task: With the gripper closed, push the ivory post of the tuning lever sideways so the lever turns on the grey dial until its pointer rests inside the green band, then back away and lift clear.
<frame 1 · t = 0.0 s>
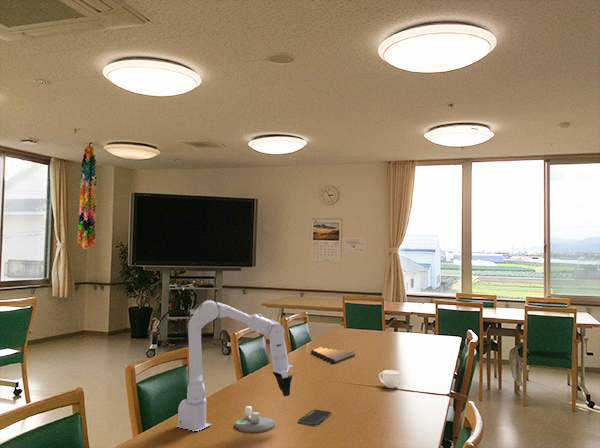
hand: (284, 392, 183), 11 cm above the table, tool pointing down, fingers open, 7 cm apart
dial plate: (254, 425, 178), on the table
cup: (388, 386, 233), on the table
pan flute: (326, 358, 294), on the table
phone: (315, 419, 187), on the table
tuning lever: (251, 414, 181), point 3 cm above the table, hinge at 0.0°
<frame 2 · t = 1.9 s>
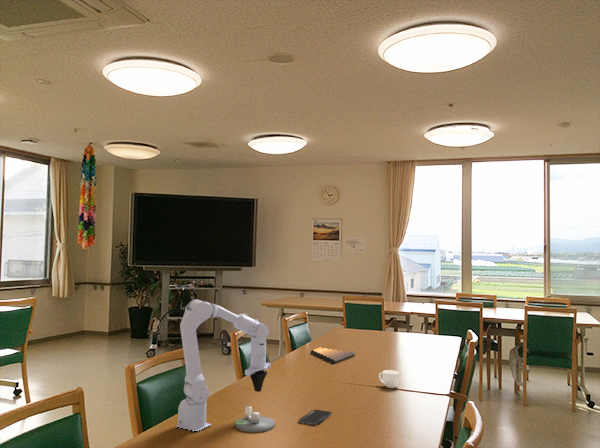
hand: (257, 391, 189), 9 cm above the table, tool pointing down, fingers closed
nothing on the table moved.
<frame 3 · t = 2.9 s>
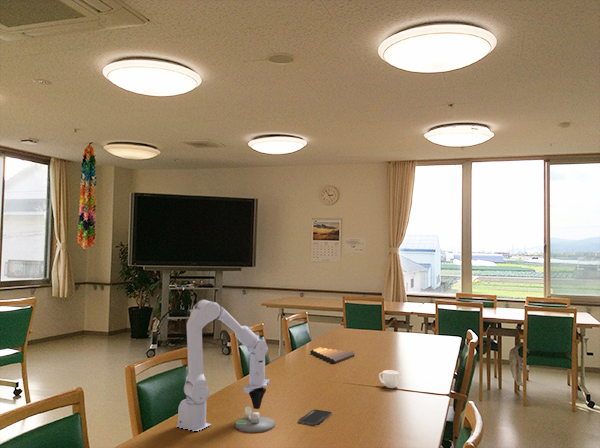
hand: (256, 408, 188), 3 cm above the table, tool pointing down, fingers closed
nothing on the table moved.
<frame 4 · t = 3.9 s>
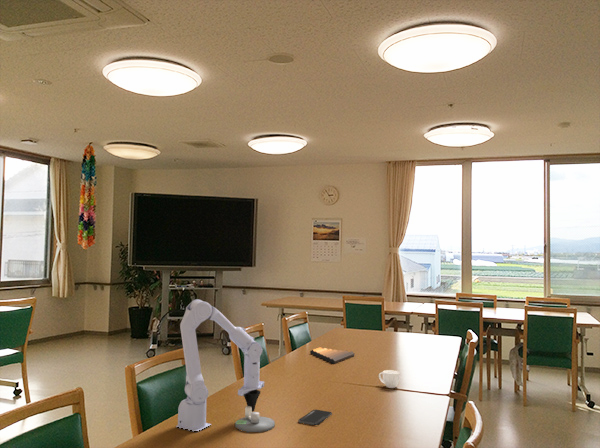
hand: (251, 410, 185), 3 cm above the table, tool pointing down, fingers closed, pressing on tuning lever
tuning lever: (251, 414, 181), point 3 cm above the table, hinge at 0.1°, touching gripper
everything else where it was.
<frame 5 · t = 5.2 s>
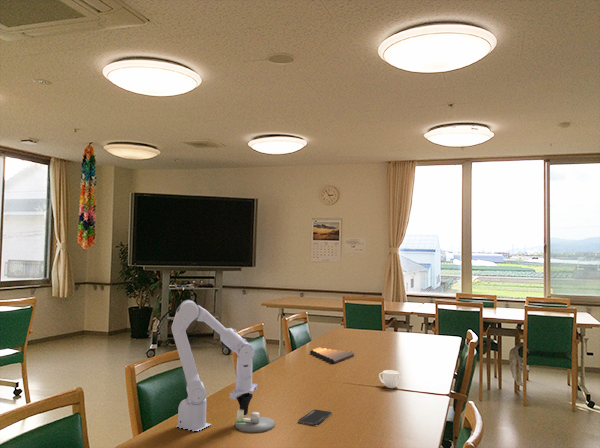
hand: (243, 414, 181), 3 cm above the table, tool pointing down, fingers closed, pressing on tuning lever
tuning lever: (248, 415, 179), point 3 cm above the table, hinge at 46.6°, touching gripper
everything else where it was.
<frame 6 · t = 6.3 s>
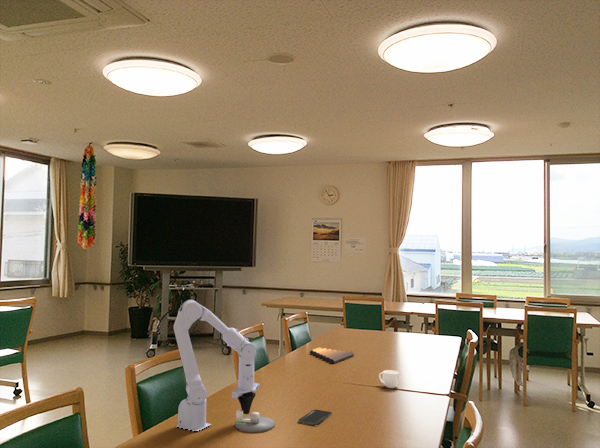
hand: (245, 413, 182), 3 cm above the table, tool pointing down, fingers closed
tuning lever: (247, 416, 179), point 3 cm above the table, hinge at 56.5°
everything else where it was.
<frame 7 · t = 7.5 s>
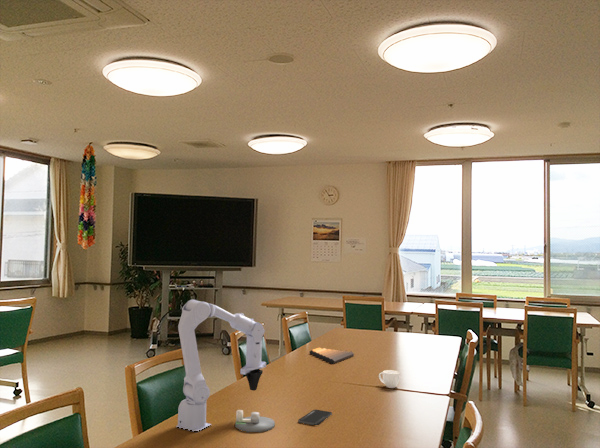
hand: (253, 389, 190), 9 cm above the table, tool pointing down, fingers closed
nothing on the table moved.
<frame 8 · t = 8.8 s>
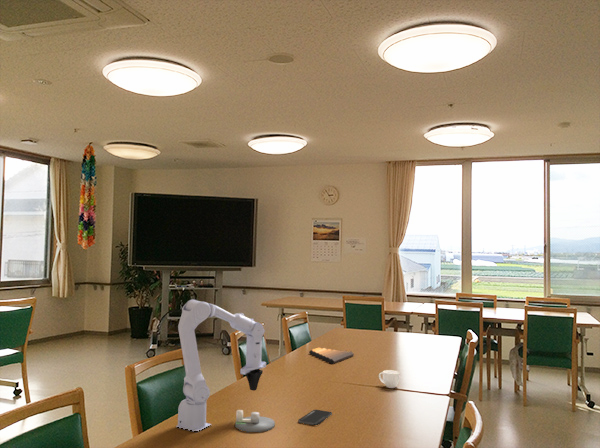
hand: (253, 389, 190), 9 cm above the table, tool pointing down, fingers closed
at the end: tuning lever at +57° (first picture: +0°); phone moved 0.6 cm from its start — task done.
